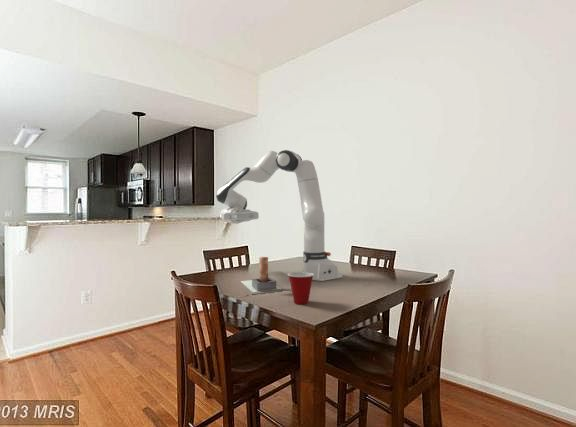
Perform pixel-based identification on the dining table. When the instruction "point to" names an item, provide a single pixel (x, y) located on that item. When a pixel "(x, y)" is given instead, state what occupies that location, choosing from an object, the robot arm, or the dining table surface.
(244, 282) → the board
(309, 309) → the dining table surface
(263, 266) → the peg
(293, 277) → the plastic cup
